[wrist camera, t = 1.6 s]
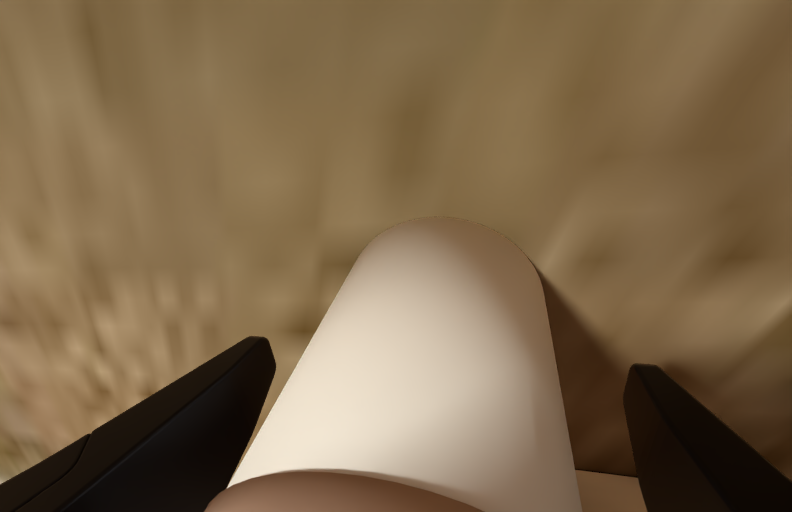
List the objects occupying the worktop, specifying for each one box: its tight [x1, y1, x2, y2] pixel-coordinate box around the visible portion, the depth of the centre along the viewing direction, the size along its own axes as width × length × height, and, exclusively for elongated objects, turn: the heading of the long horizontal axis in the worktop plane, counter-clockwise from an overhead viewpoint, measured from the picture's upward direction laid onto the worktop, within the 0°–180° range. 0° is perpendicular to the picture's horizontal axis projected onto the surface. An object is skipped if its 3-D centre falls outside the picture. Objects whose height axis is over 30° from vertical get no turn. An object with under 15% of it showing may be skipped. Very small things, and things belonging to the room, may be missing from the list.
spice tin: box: [204, 217, 582, 512], centre depth 8 cm, size 5×5×7 cm
